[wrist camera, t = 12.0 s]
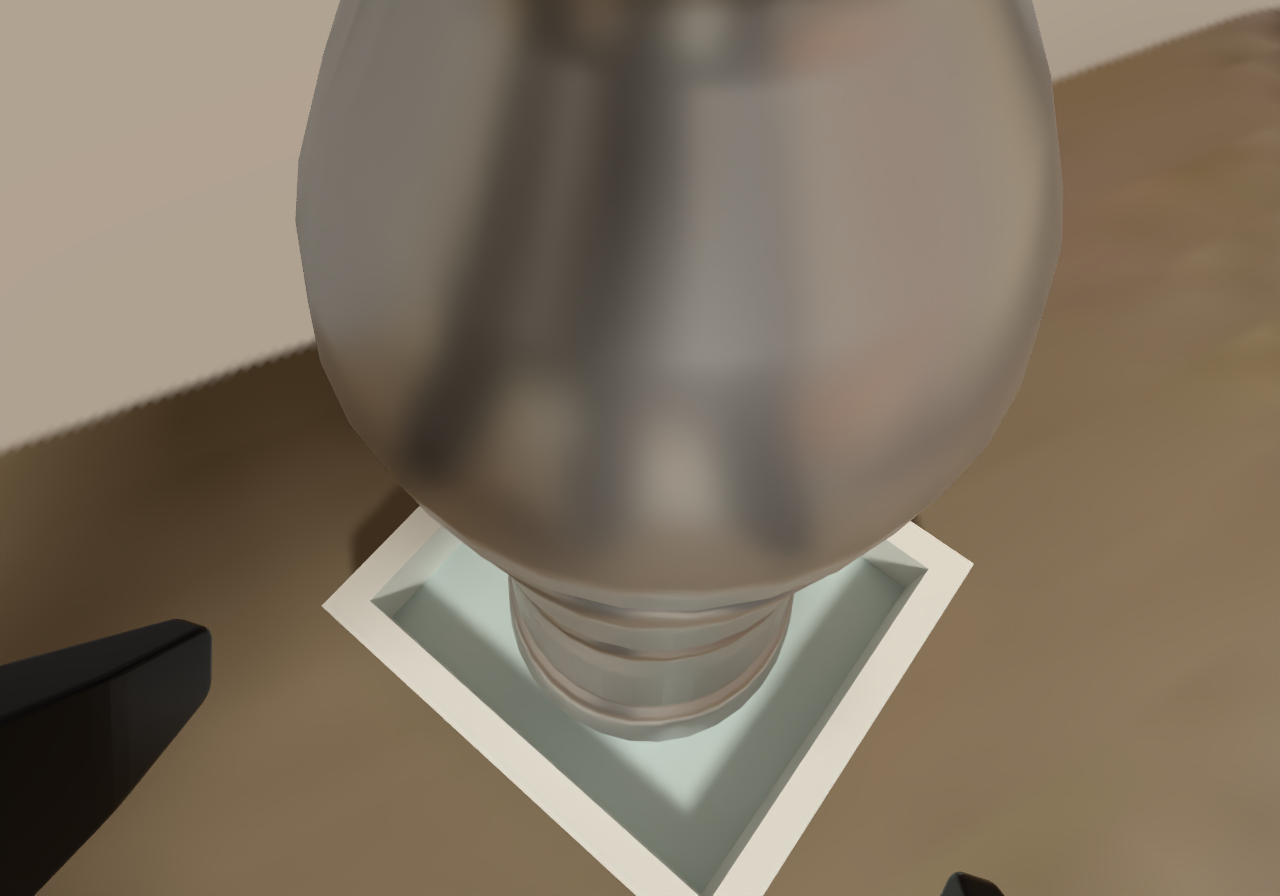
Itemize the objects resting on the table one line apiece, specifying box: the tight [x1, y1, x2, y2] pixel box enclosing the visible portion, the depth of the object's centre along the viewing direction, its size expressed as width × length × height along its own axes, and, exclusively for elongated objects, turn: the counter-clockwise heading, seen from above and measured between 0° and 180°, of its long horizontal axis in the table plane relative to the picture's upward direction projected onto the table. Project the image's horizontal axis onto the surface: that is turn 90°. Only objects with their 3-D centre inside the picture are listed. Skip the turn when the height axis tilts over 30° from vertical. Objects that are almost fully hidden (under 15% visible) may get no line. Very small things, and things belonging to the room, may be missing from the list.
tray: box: [322, 506, 974, 896], centre depth 20 cm, size 12×11×2 cm
